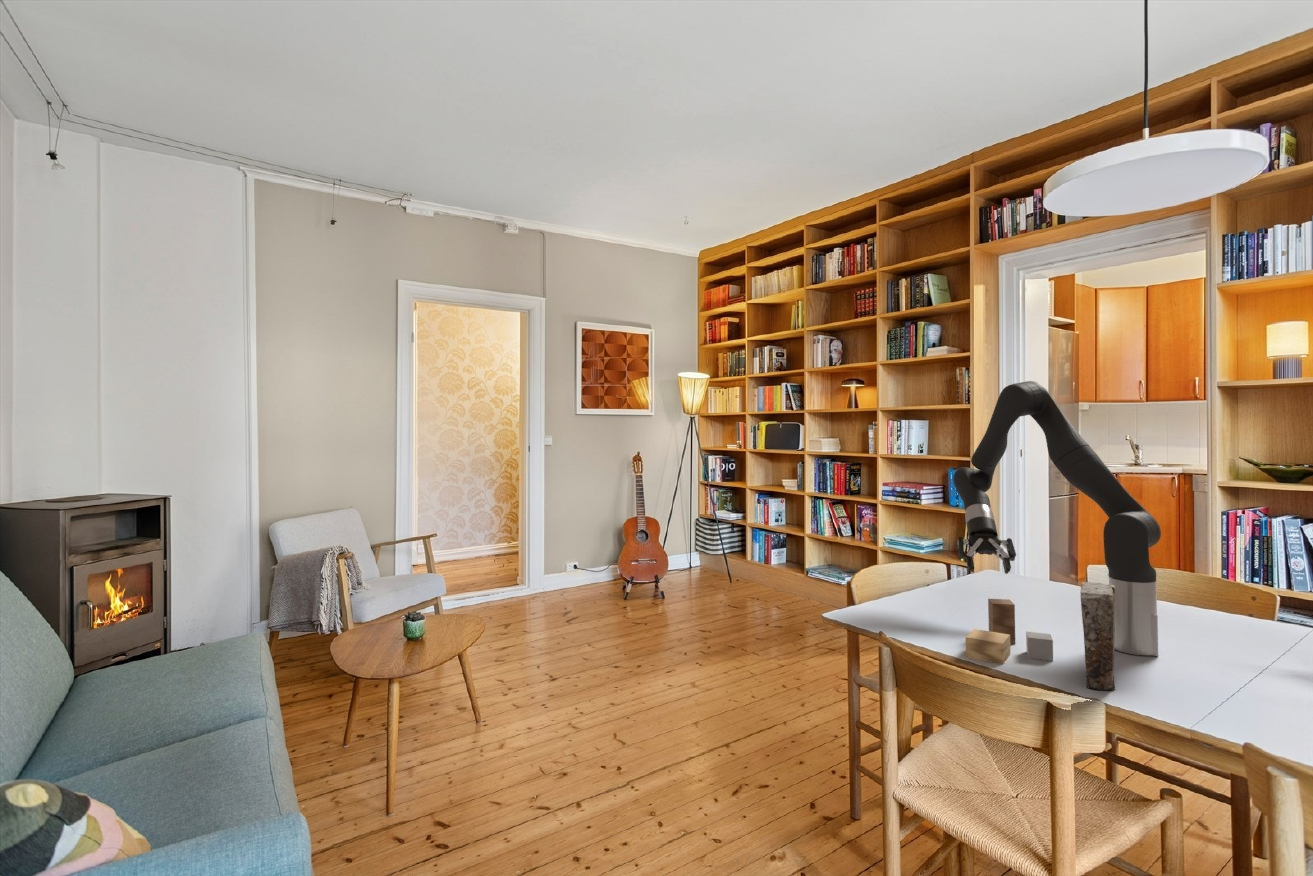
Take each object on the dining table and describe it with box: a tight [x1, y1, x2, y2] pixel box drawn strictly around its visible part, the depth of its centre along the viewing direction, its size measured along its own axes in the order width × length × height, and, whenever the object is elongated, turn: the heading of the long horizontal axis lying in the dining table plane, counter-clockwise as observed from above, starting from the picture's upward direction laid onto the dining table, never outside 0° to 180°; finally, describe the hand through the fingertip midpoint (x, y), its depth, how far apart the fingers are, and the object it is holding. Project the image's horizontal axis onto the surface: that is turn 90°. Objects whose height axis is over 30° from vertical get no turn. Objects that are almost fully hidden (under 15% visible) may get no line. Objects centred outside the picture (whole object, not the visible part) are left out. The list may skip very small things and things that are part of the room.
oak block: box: [965, 628, 1011, 665], centre depth 151 cm, size 8×8×5 cm
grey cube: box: [1025, 631, 1054, 662], centre depth 150 cm, size 5×5×5 cm
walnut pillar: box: [987, 598, 1016, 645], centre depth 162 cm, size 5×5×10 cm
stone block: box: [1080, 581, 1116, 691], centre depth 135 cm, size 13×7×20 cm, turn 149°
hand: (989, 571), depth 173 cm, fingers open, 8 cm apart
